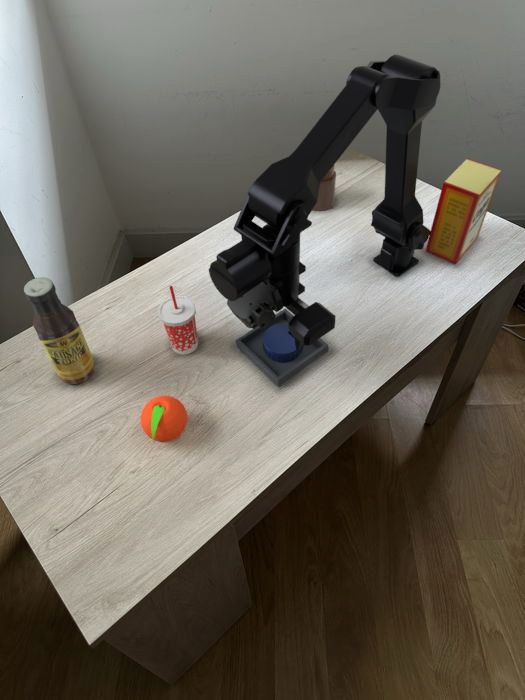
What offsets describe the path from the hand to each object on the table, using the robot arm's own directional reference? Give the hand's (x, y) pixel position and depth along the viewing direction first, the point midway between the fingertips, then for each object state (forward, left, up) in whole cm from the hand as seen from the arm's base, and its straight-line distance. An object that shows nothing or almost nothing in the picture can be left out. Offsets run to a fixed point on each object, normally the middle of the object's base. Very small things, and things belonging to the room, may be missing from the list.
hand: (280, 332), depth 86 cm
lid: (0, 0, -2) cm, 2 cm away
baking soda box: (-43, +2, -5) cm, 43 cm away
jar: (-33, -26, -5) cm, 43 cm away
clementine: (+24, +1, -5) cm, 24 cm away
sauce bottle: (+29, -19, -5) cm, 35 cm away
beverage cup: (+12, -12, -5) cm, 18 cm away
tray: (0, 0, -5) cm, 5 cm away
